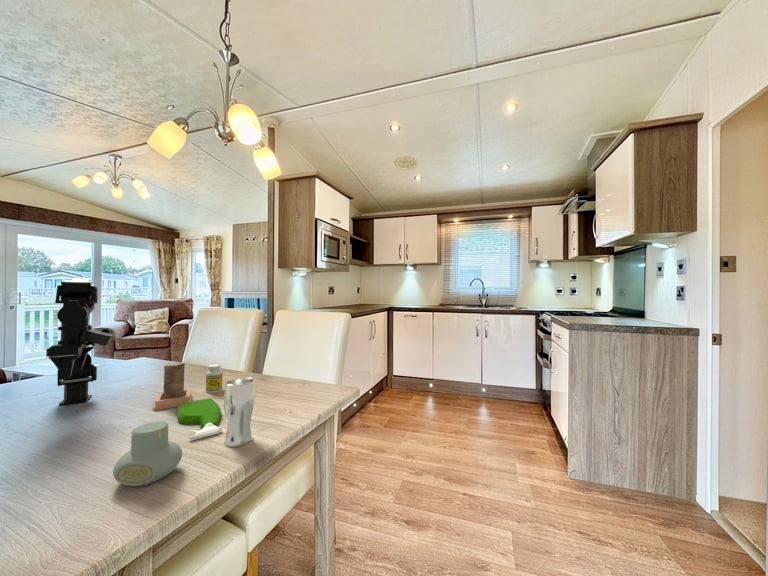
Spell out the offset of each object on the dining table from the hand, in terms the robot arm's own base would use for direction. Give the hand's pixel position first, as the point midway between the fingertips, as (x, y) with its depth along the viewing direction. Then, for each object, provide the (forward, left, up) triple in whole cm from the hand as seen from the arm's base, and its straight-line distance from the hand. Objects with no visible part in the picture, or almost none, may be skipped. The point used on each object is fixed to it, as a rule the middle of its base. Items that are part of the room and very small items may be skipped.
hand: (73, 374), depth 89 cm
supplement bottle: (-5, +37, -12) cm, 39 cm away
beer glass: (+41, +41, -12) cm, 59 cm away
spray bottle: (+23, +33, -13) cm, 42 cm away
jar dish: (+2, +25, -12) cm, 28 cm away
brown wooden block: (+2, +25, -11) cm, 27 cm away
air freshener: (+48, +24, -12) cm, 55 cm away
